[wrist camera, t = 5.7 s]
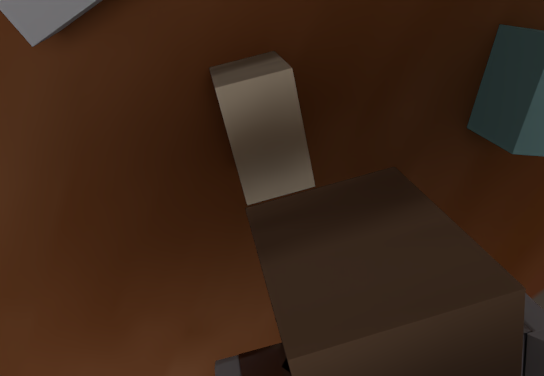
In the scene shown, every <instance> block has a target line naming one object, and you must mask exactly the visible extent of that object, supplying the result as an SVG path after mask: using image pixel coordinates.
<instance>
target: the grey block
mask: <svg viewBox="0 0 544 376" xmlns="http://www.w3.org/2000/svg"><path fill="white" fill-rule="evenodd" d="M101 1H102V0H0V10H1V11H2V12H3V14H4V15H5V16H6V17H7V18H8V19H9V20H10V22H11V23H12V24H13V25H14V26H15V27H16V28H17V30H18V31H19V32H20V33H21V34H22V35H23V36H24V38H25V39H26V40H27V41H28V42H29V43H30V44H31V46H32V47H33V46H35V45H37V44H39V43H40V42H42V41H44V40H46V39H47V38H49V37H51V36H53V35H54V34H56V33H58V32H59V31H61V30H62V29H64V28H65V27H66V26H68V25H69V24H70V23H72V22H73V21H75V20H76V19H77V18H79V17H80V16H81V15H83V14H84V13H86V12H87V11H88V10H90V9H91V8H93V7H94V6H95V5H97V4H98V3H99V2H101Z"/></svg>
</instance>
